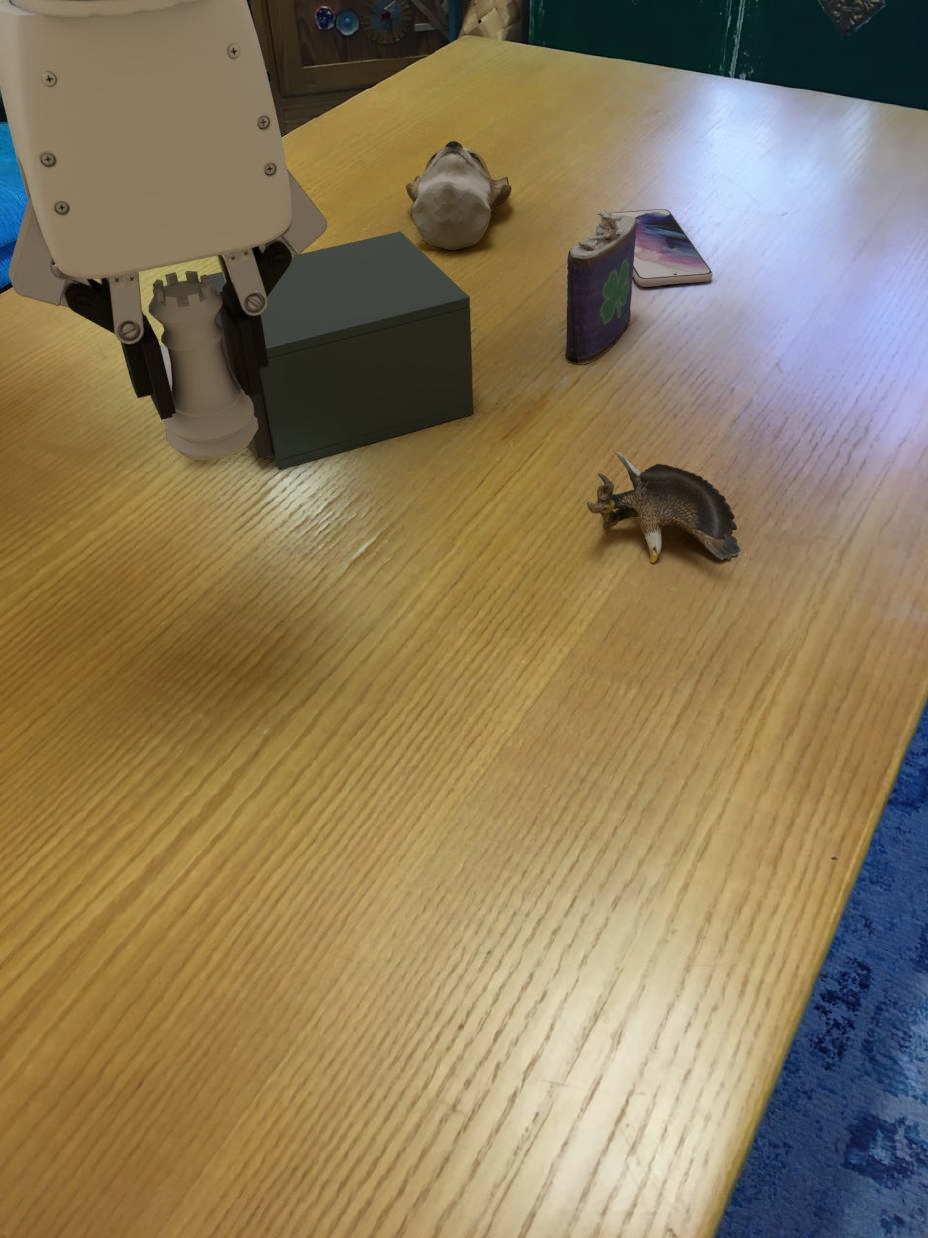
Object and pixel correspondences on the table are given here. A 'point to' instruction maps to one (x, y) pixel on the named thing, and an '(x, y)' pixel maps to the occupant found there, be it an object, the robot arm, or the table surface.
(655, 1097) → the table surface
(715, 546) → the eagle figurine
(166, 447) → the table surface
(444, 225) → the ceramic sculpture
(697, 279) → the smartphone
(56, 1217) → the table surface
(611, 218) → the flask
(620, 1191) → the table surface
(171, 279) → the rook chess piece
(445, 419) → the cabinet
